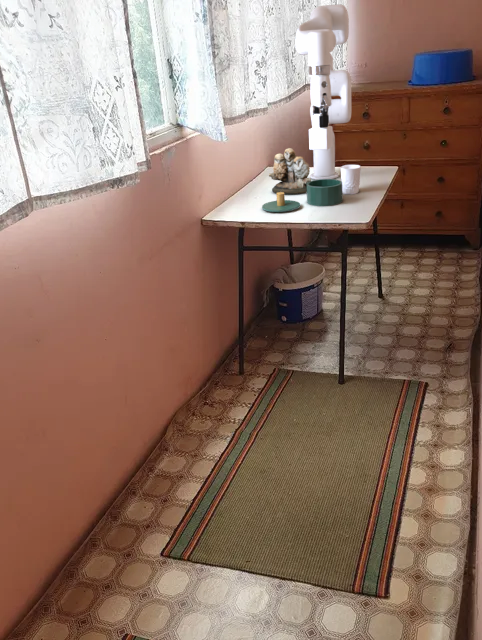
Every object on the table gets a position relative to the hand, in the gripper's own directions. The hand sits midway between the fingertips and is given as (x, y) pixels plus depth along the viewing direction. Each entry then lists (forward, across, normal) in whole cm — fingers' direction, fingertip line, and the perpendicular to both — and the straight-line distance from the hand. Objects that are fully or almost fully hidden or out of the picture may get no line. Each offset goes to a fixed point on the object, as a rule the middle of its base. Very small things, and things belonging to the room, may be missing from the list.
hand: (320, 125), depth 222 cm
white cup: (+28, +8, -15) cm, 32 cm away
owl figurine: (+28, +21, +6) cm, 36 cm away
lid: (+27, -2, +17) cm, 32 cm away
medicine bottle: (+8, 0, 0) cm, 8 cm away
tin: (+28, -1, -1) cm, 28 cm away
